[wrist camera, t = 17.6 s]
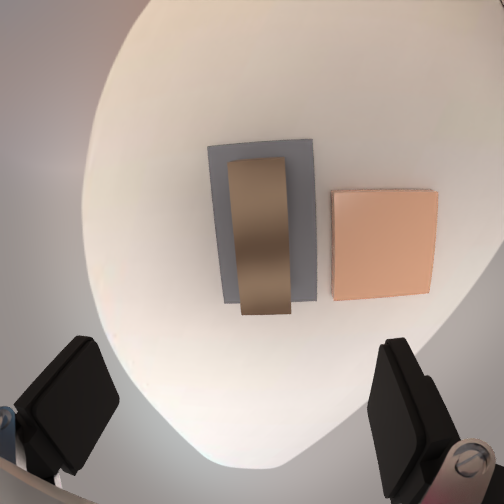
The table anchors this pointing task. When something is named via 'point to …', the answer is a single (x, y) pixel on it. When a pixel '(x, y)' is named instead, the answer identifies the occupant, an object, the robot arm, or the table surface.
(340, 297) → the tile
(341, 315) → the table surface
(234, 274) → the mat
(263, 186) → the block
